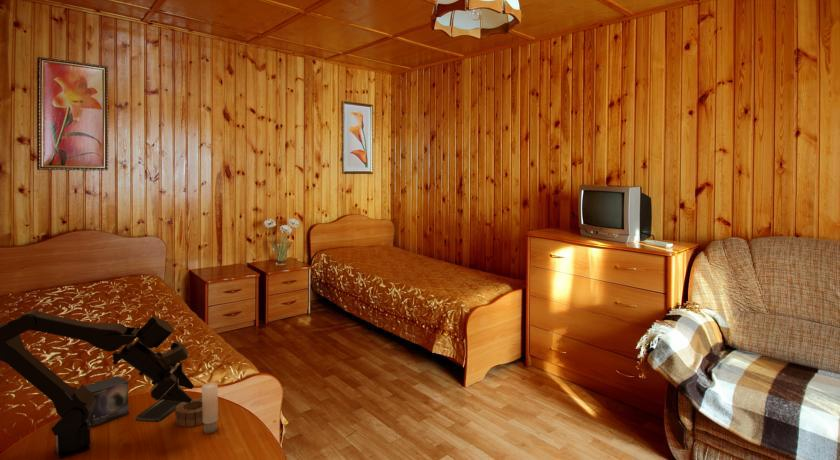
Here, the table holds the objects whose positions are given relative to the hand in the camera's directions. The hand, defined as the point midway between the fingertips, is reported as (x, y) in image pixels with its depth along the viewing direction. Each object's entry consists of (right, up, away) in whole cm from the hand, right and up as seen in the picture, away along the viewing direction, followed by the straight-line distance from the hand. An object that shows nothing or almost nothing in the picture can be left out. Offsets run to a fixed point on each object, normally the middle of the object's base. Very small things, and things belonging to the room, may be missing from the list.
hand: (191, 394), depth 134 cm
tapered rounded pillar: (+4, -11, +3) cm, 12 cm away
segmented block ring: (-4, -10, +9) cm, 14 cm away
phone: (-16, -10, +14) cm, 24 cm away
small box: (-29, -10, +8) cm, 32 cm away
